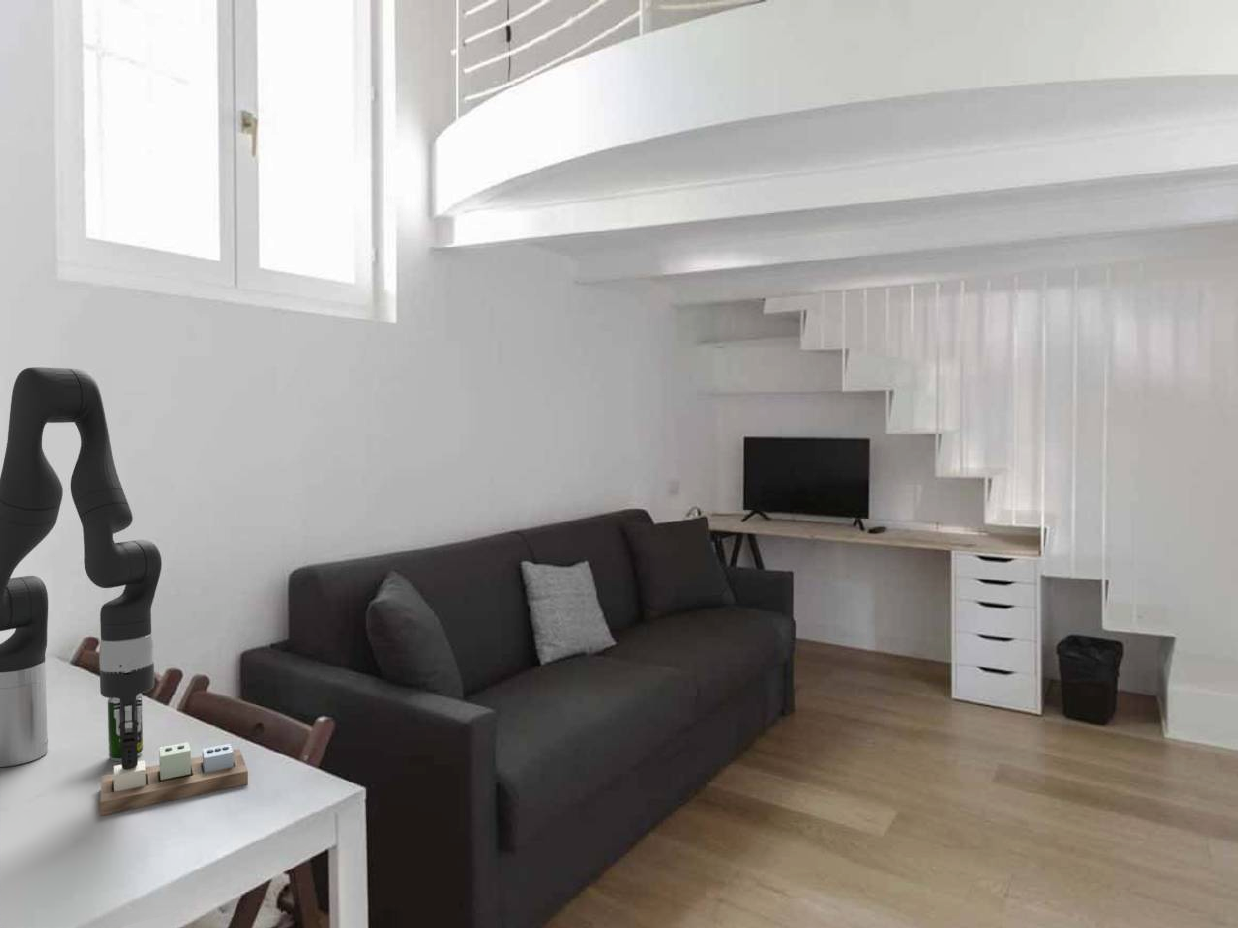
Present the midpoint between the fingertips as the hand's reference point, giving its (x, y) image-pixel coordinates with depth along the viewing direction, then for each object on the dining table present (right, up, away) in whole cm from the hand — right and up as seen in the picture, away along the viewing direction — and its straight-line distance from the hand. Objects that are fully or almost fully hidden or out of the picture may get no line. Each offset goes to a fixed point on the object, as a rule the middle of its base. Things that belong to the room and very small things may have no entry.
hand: (129, 766), depth 128 cm
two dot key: (+5, -2, +4) cm, 7 cm away
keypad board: (+5, -5, +4) cm, 8 cm away
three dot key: (+11, -4, +7) cm, 14 cm away
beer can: (-11, -5, +16) cm, 20 cm away
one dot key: (0, -4, 0) cm, 4 cm away
